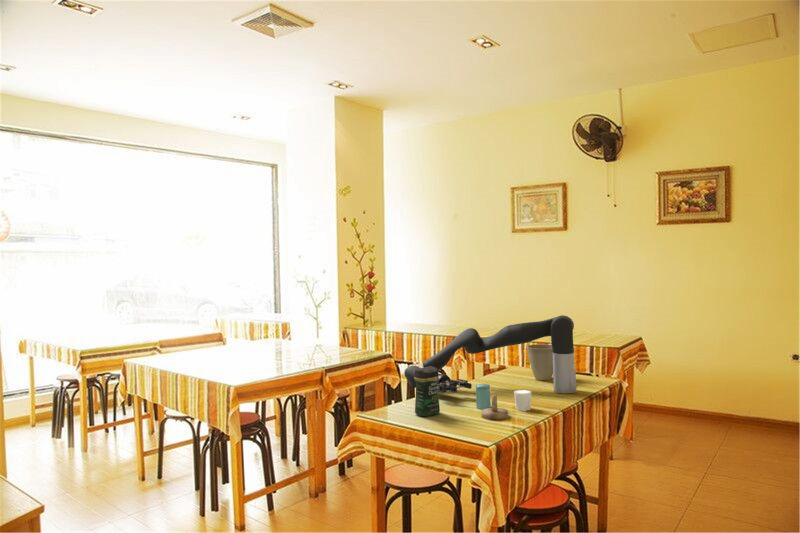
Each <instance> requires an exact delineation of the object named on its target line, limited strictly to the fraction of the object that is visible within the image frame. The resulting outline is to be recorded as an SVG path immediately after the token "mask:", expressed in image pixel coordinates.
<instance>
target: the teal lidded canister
mask: <svg viewBox="0 0 800 533" xmlns="http://www.w3.org/2000/svg"><path fill="white" fill-rule="evenodd" d="M490 386H491V385H490V383H489V384H488V383H477V384H475V400H476V402H475V403H476V409H477V410H483V409H486V408H492V403H491V388H490Z"/></svg>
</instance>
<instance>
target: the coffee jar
mask: <svg viewBox="0 0 800 533" xmlns="http://www.w3.org/2000/svg"><path fill="white" fill-rule="evenodd" d="M438 373H439V370H438V369H437V368H436V367H432V366H429V367H423V366H422V367H420V368H418V369H416V370H415V372H414V379H415V383H416V388H415V403H414V414H416V415H417V416H418V417H432V416H434V415H438V414H439V413H440V412H441V410H440V400H439V399H440V397H439V391H438V387H437V383H438V378H439V375H438Z"/></svg>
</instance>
